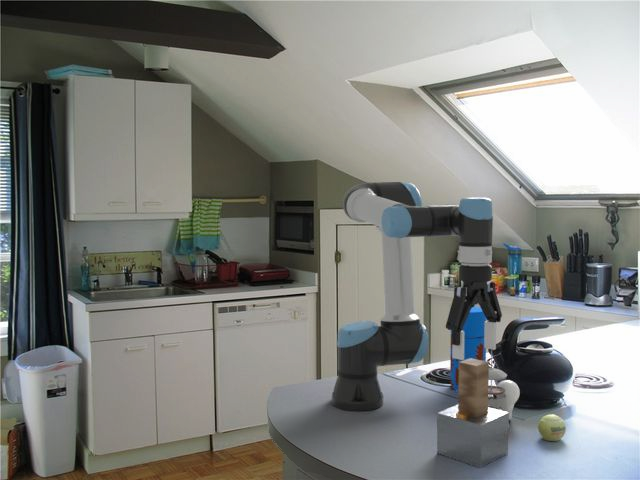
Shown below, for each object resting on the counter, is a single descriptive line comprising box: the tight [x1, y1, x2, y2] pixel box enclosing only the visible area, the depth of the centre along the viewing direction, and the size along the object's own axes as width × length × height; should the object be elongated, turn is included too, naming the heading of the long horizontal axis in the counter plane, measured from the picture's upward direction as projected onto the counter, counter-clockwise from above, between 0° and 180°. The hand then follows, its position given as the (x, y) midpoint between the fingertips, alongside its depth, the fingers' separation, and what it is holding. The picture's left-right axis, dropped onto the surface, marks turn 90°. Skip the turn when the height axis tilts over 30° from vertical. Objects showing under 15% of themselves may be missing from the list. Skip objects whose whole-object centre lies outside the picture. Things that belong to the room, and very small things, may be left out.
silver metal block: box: [436, 404, 510, 468], centre depth 167 cm, size 12×12×11 cm
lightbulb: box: [496, 379, 521, 421], centre depth 190 cm, size 6×6×11 cm
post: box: [457, 358, 490, 418], centre depth 166 cm, size 5×5×22 cm
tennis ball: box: [537, 413, 567, 442], centre depth 176 cm, size 6×7×7 cm
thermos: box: [449, 306, 487, 392], centre depth 218 cm, size 11×11×25 cm
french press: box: [488, 349, 511, 429], centre depth 186 cm, size 10×12×25 cm
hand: (474, 353), depth 165 cm, fingers open, 13 cm apart
